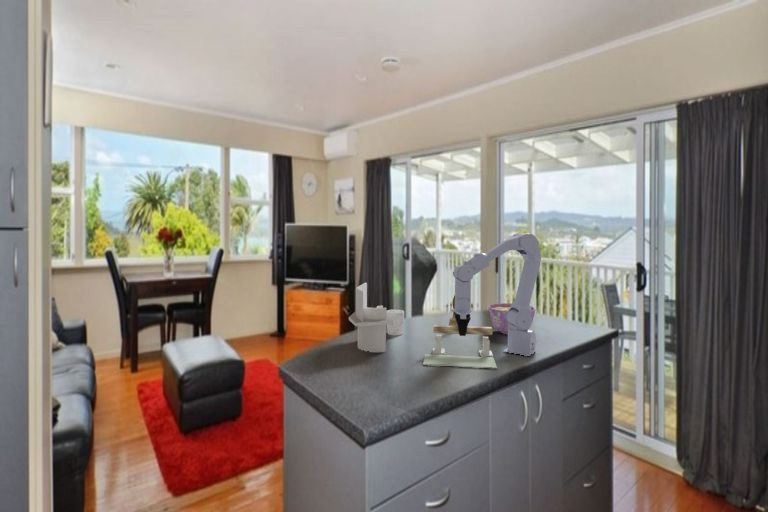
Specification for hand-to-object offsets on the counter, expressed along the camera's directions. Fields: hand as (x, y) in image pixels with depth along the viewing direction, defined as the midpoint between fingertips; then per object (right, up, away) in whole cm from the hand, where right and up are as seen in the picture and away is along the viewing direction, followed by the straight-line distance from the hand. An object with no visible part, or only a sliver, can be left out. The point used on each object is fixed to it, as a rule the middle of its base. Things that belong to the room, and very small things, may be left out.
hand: (462, 334), depth 152 cm
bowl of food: (+27, -6, +31) cm, 42 cm away
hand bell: (+3, -5, +36) cm, 37 cm away
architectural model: (-35, -7, +11) cm, 37 cm away
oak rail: (0, 0, 0) cm, 0 cm away
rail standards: (0, -7, 0) cm, 7 cm away
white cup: (-24, -6, +30) cm, 39 cm away
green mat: (-3, -8, -9) cm, 13 cm away
